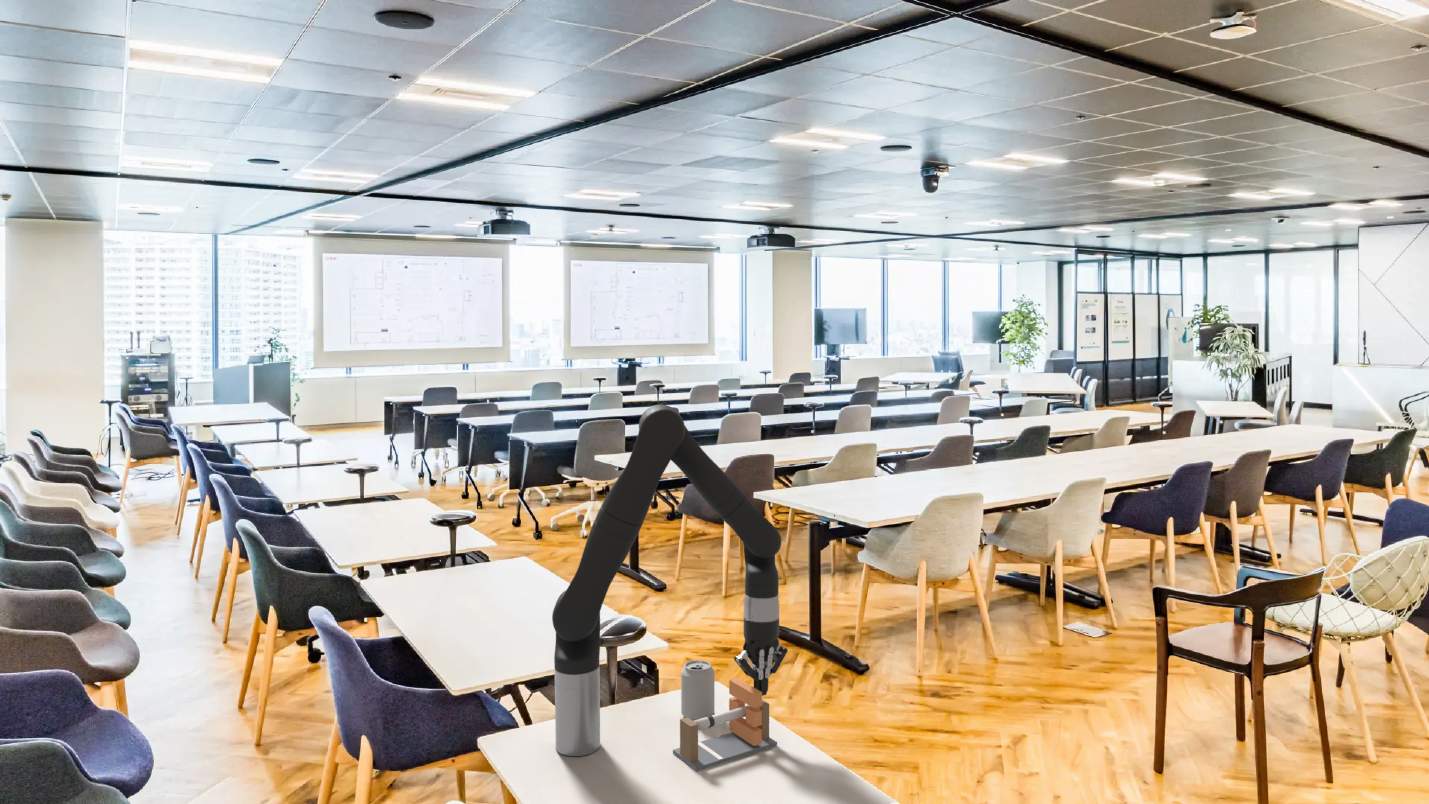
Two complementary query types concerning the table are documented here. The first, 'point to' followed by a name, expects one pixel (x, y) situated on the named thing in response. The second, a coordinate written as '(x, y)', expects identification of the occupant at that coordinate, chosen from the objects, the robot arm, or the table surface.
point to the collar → (753, 715)
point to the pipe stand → (719, 740)
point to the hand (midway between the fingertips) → (760, 694)
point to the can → (697, 689)
